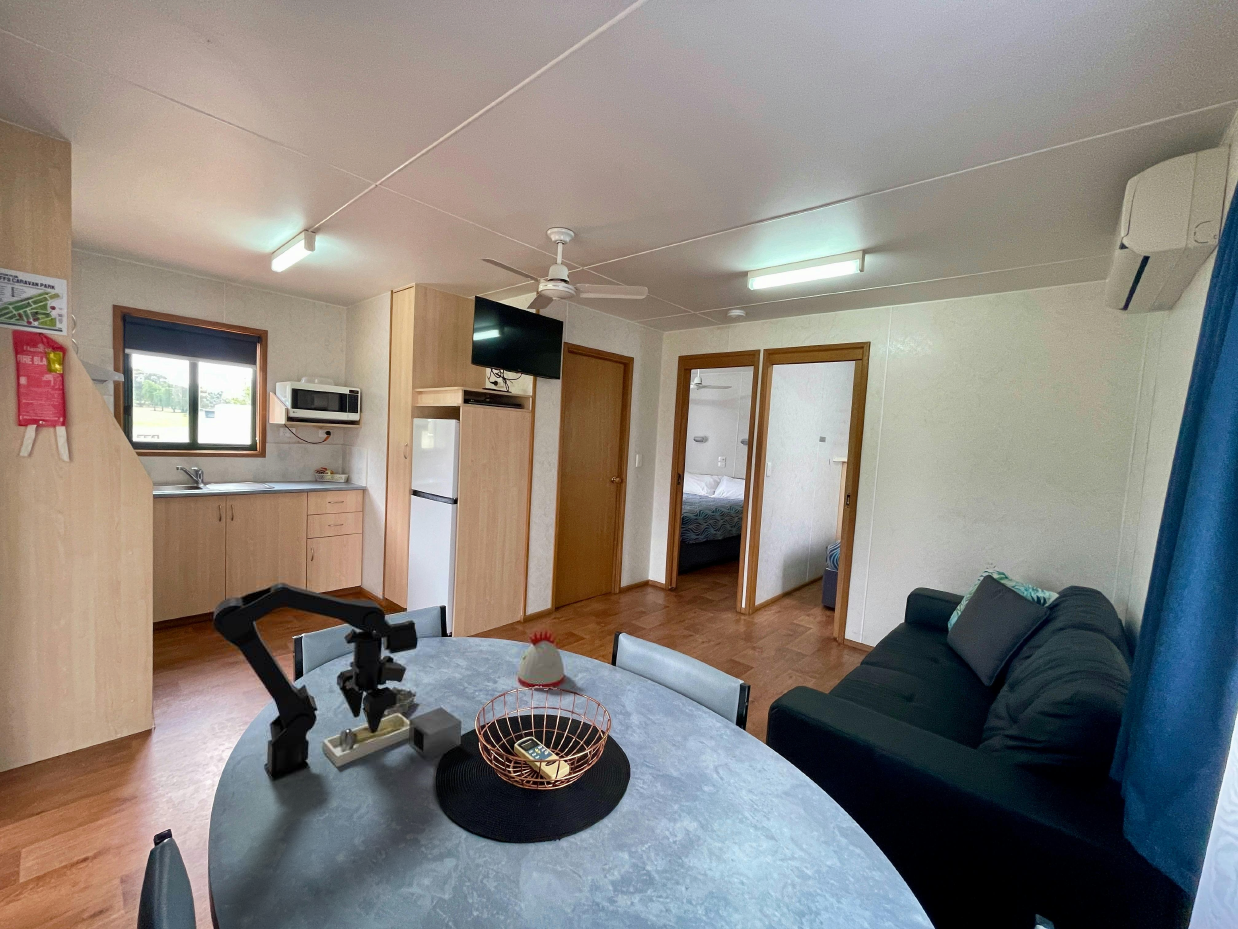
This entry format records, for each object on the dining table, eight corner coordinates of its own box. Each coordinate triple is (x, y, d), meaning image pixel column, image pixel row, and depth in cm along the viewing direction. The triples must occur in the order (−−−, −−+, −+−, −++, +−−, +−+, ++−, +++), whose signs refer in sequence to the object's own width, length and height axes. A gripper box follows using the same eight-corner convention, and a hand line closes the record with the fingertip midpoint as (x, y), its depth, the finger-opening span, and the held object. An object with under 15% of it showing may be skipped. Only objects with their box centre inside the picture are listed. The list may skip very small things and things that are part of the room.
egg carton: (395, 723, 126) (396, 707, 126) (368, 719, 127) (369, 703, 127) (419, 702, 136) (419, 687, 136) (393, 698, 138) (394, 684, 138)
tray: (337, 767, 108) (337, 756, 108) (322, 750, 113) (323, 740, 113) (414, 735, 121) (414, 725, 121) (398, 721, 126) (398, 712, 126)
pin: (345, 757, 111) (350, 738, 110) (337, 744, 114) (342, 725, 113) (403, 737, 121) (407, 720, 120) (394, 725, 124) (399, 708, 123)
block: (428, 761, 111) (429, 735, 111) (408, 743, 117) (409, 719, 117) (460, 746, 118) (461, 721, 117) (440, 730, 123) (441, 707, 123)
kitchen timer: (513, 672, 157) (515, 624, 157) (555, 666, 163) (558, 620, 162) (524, 693, 144) (527, 641, 144) (570, 685, 150) (572, 636, 150)
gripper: (421, 660, 115) (418, 727, 116) (384, 637, 128) (382, 698, 128) (371, 675, 107) (369, 747, 107) (337, 649, 119) (334, 714, 120)
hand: (365, 724), depth 116 cm, fingers open, 9 cm apart
